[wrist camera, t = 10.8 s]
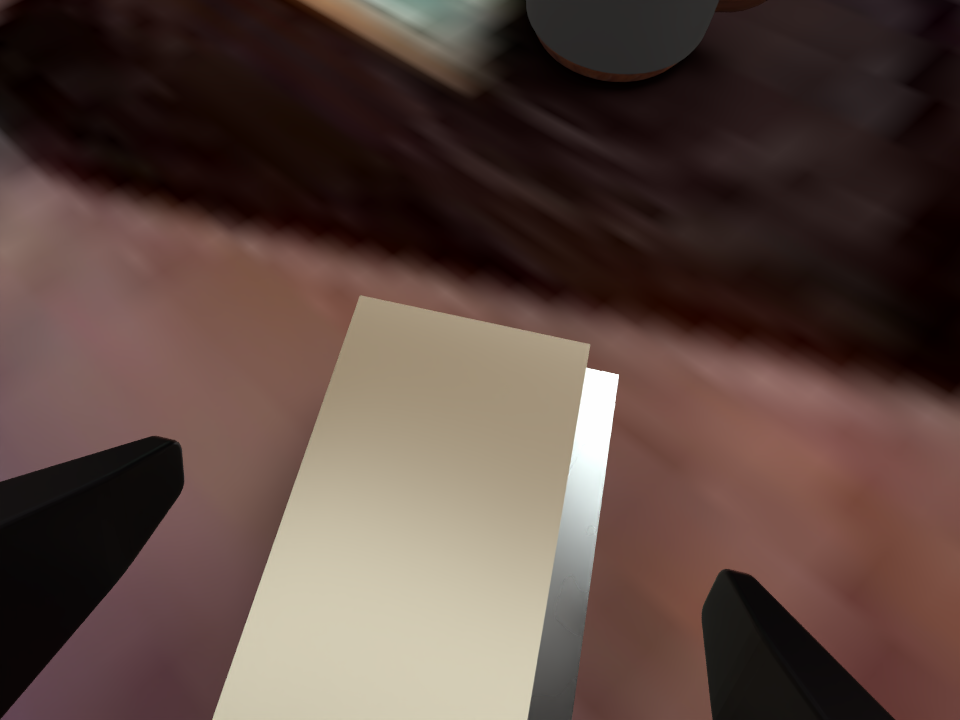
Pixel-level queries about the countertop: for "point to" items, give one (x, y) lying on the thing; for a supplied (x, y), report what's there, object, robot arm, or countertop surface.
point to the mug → (624, 33)
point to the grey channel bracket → (574, 553)
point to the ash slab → (417, 528)
